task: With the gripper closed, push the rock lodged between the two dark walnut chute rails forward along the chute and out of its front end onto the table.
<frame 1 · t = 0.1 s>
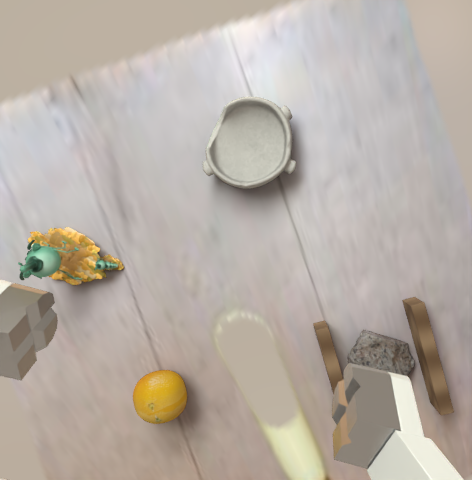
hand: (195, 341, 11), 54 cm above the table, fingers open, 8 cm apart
dish: (252, 147, 64), on the table
green and yellow piece: (75, 257, 68), on the table
rock: (375, 354, 65), on the table
fruit: (167, 384, 68), on the table
chute: (377, 361, 65), on the table
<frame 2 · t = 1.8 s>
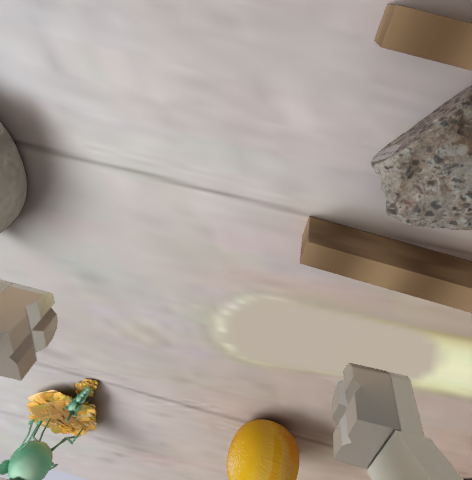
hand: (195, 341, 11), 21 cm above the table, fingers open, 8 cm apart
green and yellow piece: (71, 404, 54), on the table
rock: (445, 158, 28), on the table
fruit: (267, 426, 48), on the table
chute: (461, 173, 27), on the table
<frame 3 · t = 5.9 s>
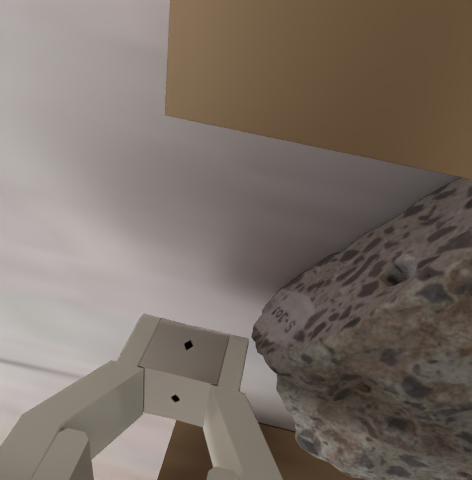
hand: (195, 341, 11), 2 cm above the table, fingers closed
rock: (438, 303, 11), on the table, touching gripper
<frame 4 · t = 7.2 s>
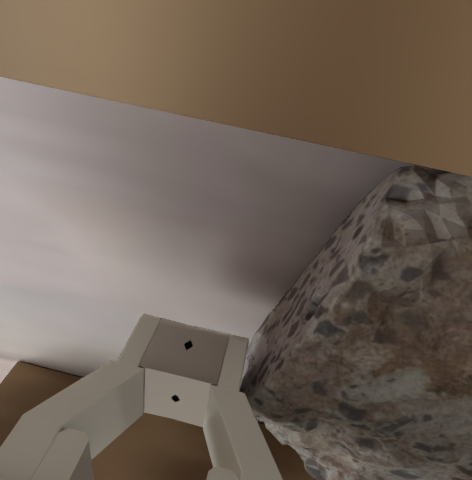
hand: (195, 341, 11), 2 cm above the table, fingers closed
rock: (409, 310, 12), on the table, touching gripper
chute: (256, 298, 12), on the table
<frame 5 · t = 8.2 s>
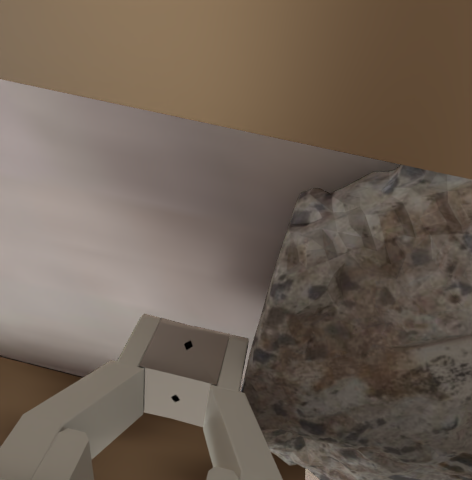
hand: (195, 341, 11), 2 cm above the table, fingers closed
rock: (386, 311, 12), on the table, touching gripper
chute: (81, 257, 12), on the table
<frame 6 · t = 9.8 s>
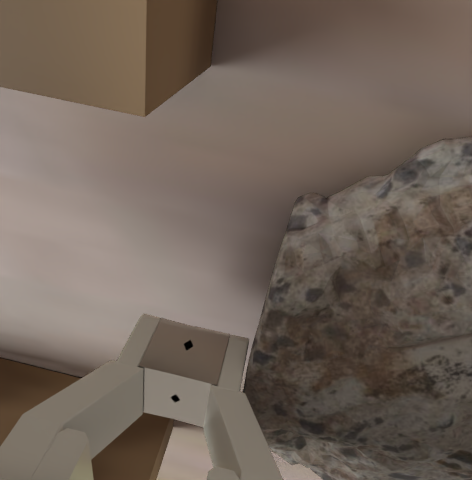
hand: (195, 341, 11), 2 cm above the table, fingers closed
rock: (385, 311, 12), on the table, touching gripper
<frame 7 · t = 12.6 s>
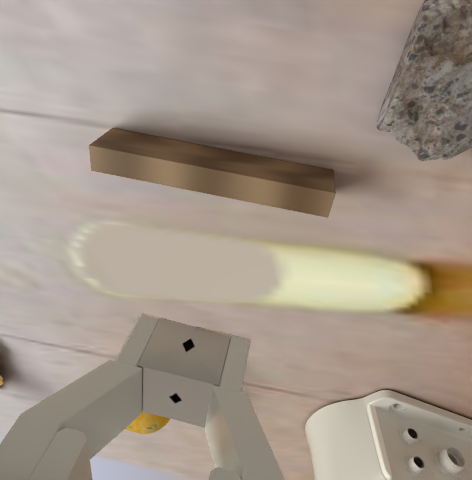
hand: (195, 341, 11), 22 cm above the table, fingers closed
rock: (448, 76, 26), on the table
fruit: (156, 364, 48), on the table
chute: (230, 60, 27), on the table
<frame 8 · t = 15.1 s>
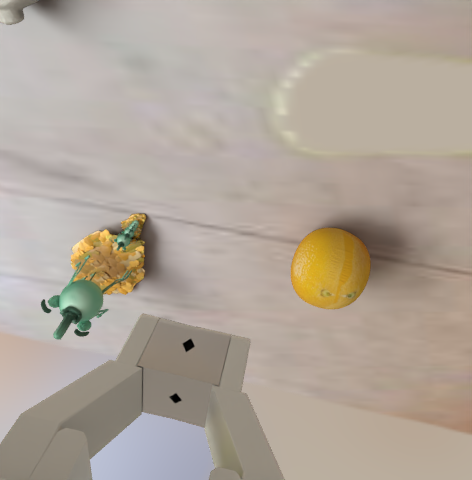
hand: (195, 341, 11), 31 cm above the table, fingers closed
green and yellow piece: (116, 257, 52), on the table
fruit: (328, 246, 45), on the table
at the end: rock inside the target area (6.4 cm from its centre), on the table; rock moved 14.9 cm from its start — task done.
